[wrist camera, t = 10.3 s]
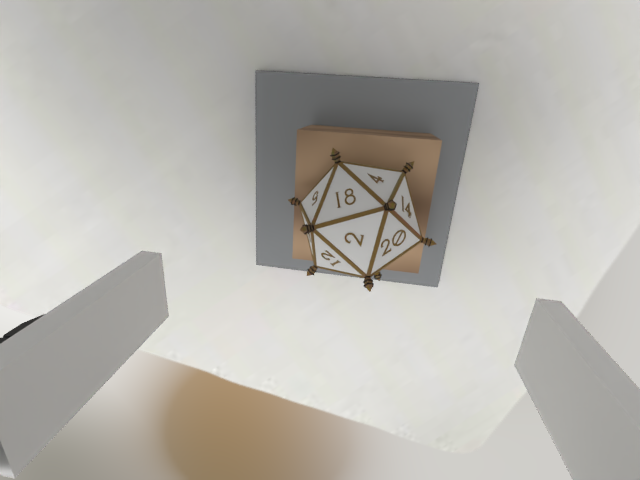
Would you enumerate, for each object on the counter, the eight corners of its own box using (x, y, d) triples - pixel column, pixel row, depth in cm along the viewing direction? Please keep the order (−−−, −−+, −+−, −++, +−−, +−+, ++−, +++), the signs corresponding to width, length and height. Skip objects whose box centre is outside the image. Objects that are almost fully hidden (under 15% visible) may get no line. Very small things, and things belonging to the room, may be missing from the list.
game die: (371, 169, 29) (446, 113, 20) (398, 271, 29) (488, 264, 19) (264, 189, 27) (290, 135, 17) (291, 301, 26) (334, 310, 17)
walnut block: (311, 124, 31) (296, 129, 26) (430, 133, 30) (442, 140, 24) (306, 233, 35) (292, 258, 29) (412, 245, 34) (418, 273, 28)
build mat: (257, 70, 31) (255, 70, 30) (477, 83, 29) (479, 82, 28) (258, 262, 37) (256, 264, 37) (436, 284, 35) (437, 287, 35)
